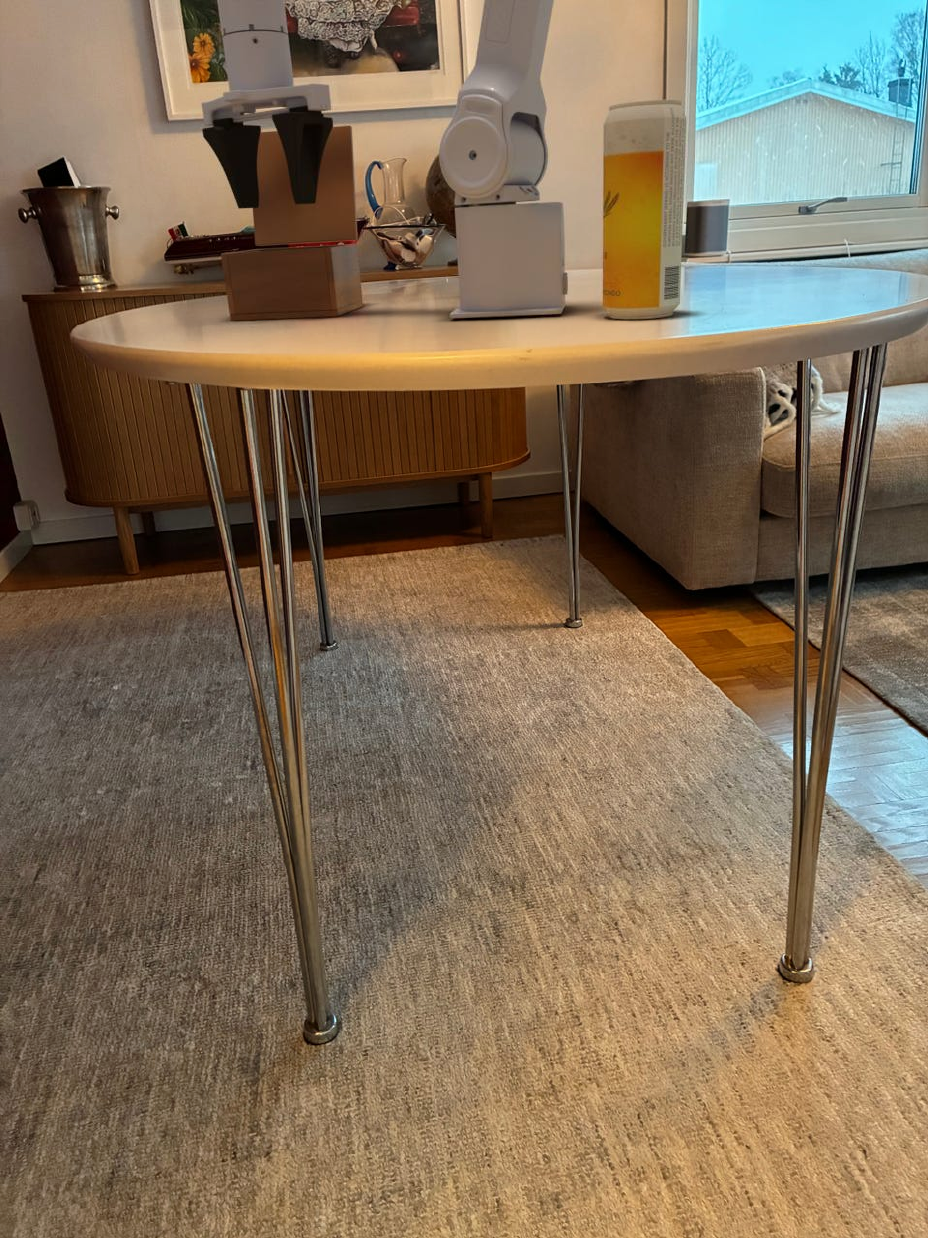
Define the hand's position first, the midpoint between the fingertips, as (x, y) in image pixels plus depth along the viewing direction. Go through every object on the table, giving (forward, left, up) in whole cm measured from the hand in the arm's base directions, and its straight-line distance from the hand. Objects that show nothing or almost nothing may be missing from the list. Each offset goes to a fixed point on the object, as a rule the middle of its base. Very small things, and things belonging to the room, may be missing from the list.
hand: (276, 206), depth 87 cm
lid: (0, -9, +2) cm, 9 cm away
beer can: (-34, +12, -10) cm, 37 cm away
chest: (0, -3, -10) cm, 10 cm away
